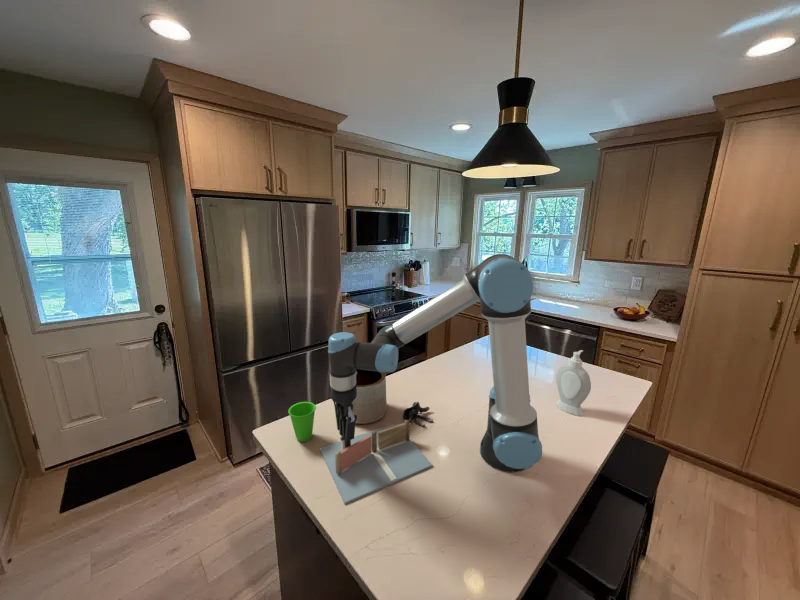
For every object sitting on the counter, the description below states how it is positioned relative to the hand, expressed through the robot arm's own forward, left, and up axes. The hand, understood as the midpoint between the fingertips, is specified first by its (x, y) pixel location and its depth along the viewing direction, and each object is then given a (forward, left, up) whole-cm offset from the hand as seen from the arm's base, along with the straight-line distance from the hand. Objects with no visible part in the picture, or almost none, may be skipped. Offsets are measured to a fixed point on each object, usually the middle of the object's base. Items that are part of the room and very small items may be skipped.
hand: (346, 454), depth 99 cm
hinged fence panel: (-2, -2, -2) cm, 3 cm away
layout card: (-2, -8, -3) cm, 9 cm away
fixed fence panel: (0, -15, -3) cm, 16 cm away
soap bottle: (-15, -88, -3) cm, 90 cm away
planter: (+23, -15, -3) cm, 28 cm away
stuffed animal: (+11, -32, -4) cm, 34 cm away
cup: (+19, +9, -3) cm, 21 cm away
